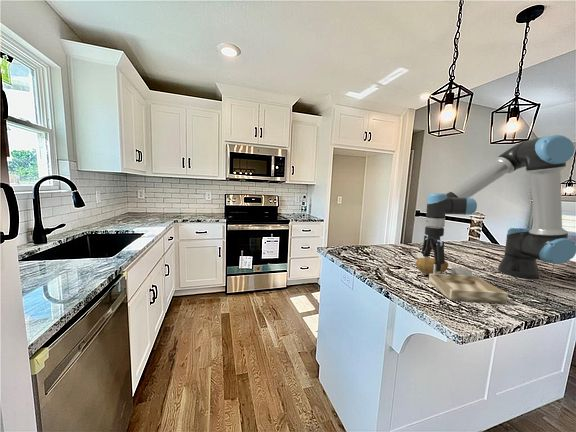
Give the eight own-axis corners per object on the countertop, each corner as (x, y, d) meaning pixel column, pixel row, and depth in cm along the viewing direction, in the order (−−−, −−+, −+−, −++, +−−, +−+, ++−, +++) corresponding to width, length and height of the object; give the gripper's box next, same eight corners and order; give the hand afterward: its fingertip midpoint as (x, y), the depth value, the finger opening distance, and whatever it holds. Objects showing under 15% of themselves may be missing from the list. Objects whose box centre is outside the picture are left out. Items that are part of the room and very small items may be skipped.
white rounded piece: (464, 275, 118) (465, 267, 117) (475, 282, 110) (476, 273, 109) (446, 274, 118) (447, 266, 118) (456, 281, 110) (457, 272, 110)
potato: (452, 278, 110) (454, 261, 109) (420, 278, 111) (421, 261, 110) (440, 271, 119) (442, 255, 118) (411, 270, 120) (412, 254, 119)
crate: (474, 284, 107) (476, 276, 106) (506, 303, 89) (508, 293, 89) (428, 282, 108) (429, 273, 108) (450, 300, 91) (451, 290, 91)
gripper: (415, 223, 124) (412, 265, 126) (438, 231, 101) (434, 282, 104) (431, 223, 123) (428, 266, 126) (457, 231, 101) (453, 283, 103)
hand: (430, 273), depth 115 cm, fingers closed on potato, 10 cm apart
